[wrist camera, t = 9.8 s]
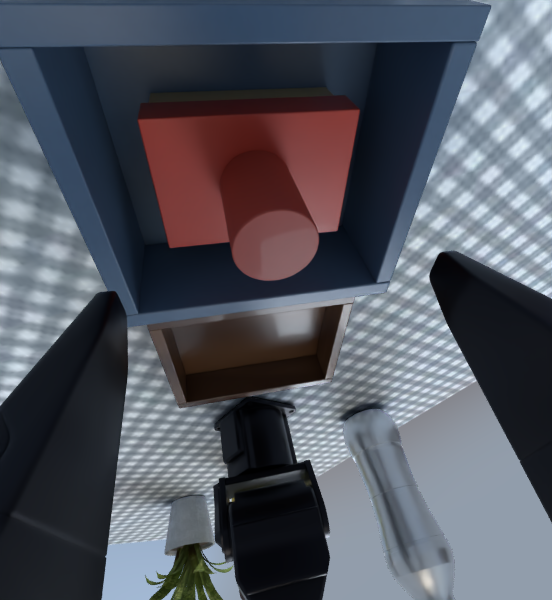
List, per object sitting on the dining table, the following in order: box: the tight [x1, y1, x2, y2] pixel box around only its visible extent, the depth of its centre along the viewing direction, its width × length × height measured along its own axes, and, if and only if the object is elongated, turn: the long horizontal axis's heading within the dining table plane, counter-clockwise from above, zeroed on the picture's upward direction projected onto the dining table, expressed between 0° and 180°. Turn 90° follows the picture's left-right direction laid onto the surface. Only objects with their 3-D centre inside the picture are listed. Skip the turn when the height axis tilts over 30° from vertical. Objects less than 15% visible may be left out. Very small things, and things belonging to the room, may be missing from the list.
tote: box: [0, 0, 491, 327], centre depth 14 cm, size 11×13×6 cm
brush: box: [137, 87, 360, 281], centre depth 13 cm, size 8×5×7 cm
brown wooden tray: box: [147, 297, 355, 408], centre depth 25 cm, size 10×12×3 cm
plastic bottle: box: [343, 409, 455, 600], centre depth 36 cm, size 6×7×20 cm
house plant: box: [146, 495, 233, 600], centre depth 48 cm, size 14×14×16 cm
